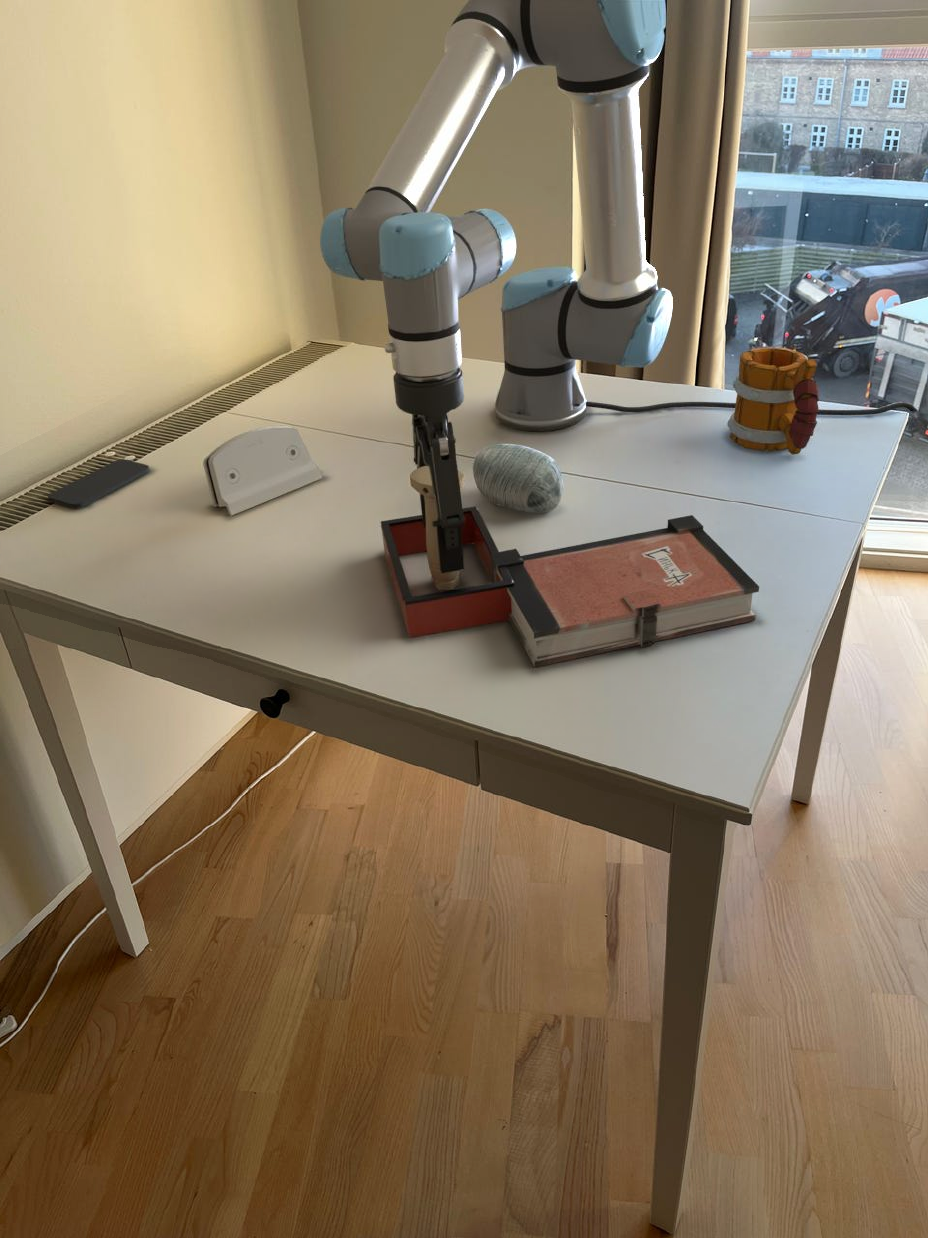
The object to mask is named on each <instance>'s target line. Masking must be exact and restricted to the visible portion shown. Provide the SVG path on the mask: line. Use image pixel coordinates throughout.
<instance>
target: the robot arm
mask: <svg viewBox="0 0 928 1238" xmlns="http://www.w3.org/2000/svg"><path fill="white" fill-rule="evenodd" d="M666 8H667V7H666V0H468V1H467V2H466V3H465V4H464V6H463V7H462V9H461V10H460V11H459V13H458V15H456V17H455V19H454V20H453V22H452V24H451V26H450V27H449V28H448V30H447V33H446V35H445V38H444V45H443V46H444V55H443V56H442V58H441V60H440V62H439V63H438V65H437V67H436V68H435V71H434V72H433V74H432V76H431V77H430V79H429V81H428V82H427V85H426V86H425V88H424V90H423V91H422V93H421V95H420V97H419V98H418V100H417V101H416V103H415V105H414V106H413V108H412V111H411V112H410V114H409V115H408V117H407V119H406V121H405V122H404V124H403V126H402V128H401V130H400V131H399V133H398V135H397V136H396V138H395V140H394V142H393V143H392V144H391V147H390V148H389V150H388V152H387V154H386V156H385V157H384V159H383V161H382V163H381V164H380V165H379V167H378V169H377V171H376V173H375V174H374V176H373V178H372V180H371V181H370V183H369V185H368V187H367V188H366V190H365V191H364V194H363V196H362V197H361V198H360V201H359V203H358V204H357V206H356V207H355V208H353V207H345V208H337V209H335V210H333V211H332V212H330V213H329V214H328V215H327V216H326V217H325V219H324V220H323V223H322V225H321V229H320V236H319V247H320V251H321V256H322V259H323V261H324V263H325V265H326V266H327V267H328V269H329V270H330V271H331V272H332V273H334V274H335V275H337V276H341V277H345V278H350V279H356V280H359V281H364V282H366V281H378V282H382V287H383V293H384V300H385V308H386V309H385V310H386V314H387V315H386V316H387V322H388V324H387V329H388V336H389V340H390V342H389V343H386V344H385V345H384V352H385V353H386V354H390V356H391V364H392V370H393V371H394V372H395V373H394V374H393V388H394V397H395V404H396V406H397V407H398V409H399V410H400V411H401V412H404V413H406V414H409V415H411V417H412V418H411V426H412V438H413V463H414V464H415V466H416V469H417V468H420V467H423V466H428V467H429V469H430V475H431V481H432V487H433V493H434V499H435V504H436V510H437V516H438V519H437V521H433V522H432V526H433V527H437V539H438V550H439V561H440V570H441V573H447V572H453V571H459V572H460V571H464V570H465V561H464V560H465V559H464V547H463V546H464V545H463V544H462V531H461V525H464V524H465V517H464V515H463V508H464V507H463V500H462V499H463V498H462V493H461V492H462V491H461V490H460V484H459V476H458V471H459V470H458V469H459V468H458V461H457V453H456V443H457V441H456V437H455V435H454V427H453V422H452V421H449V418H448V417H449V416H448V413H450V412H451V411H453V410H456V409H457V408H459V407H460V406H461V405H462V404H463V402H464V401H465V400H464V399H465V393H464V377H463V370H462V369H461V368H460V366H461V365H462V364H463V357H462V356H463V355H462V354H463V353H462V341H461V340H462V339H461V337H462V336H461V326H460V323H459V321H460V320H459V300H460V299H462V298H464V297H465V296H467V295H469V294H470V293H473V292H475V291H476V290H479V289H480V288H482V287H484V286H487V285H489V284H492V283H493V282H495V281H496V280H497V279H498V278H499V277H500V276H501V275H503V274H504V273H506V272H507V271H508V270H509V269H510V267H511V266H512V264H513V263H514V260H515V257H516V253H517V239H516V235H515V232H514V229H513V227H512V225H511V223H510V222H509V221H508V220H507V218H506V217H505V216H504V215H502V214H501V213H500V212H498V211H497V210H494V209H490V208H479V209H476V210H474V209H470V210H469V211H466V212H464V214H461V215H452V214H442V213H439V212H433V211H432V209H433V207H434V205H435V203H436V201H437V199H438V197H439V196H440V193H441V192H442V190H443V188H444V186H445V185H446V183H447V181H448V179H449V177H450V176H451V174H452V172H453V170H454V168H455V166H456V165H457V163H458V161H459V159H460V158H461V156H462V154H463V153H464V151H465V148H466V147H467V145H468V143H469V141H470V139H471V137H472V136H473V134H474V133H475V130H476V129H477V127H478V125H479V123H480V121H481V120H482V117H483V116H484V114H485V112H486V111H487V108H488V107H489V105H490V103H491V101H492V99H493V98H494V96H495V94H496V92H498V91H501V90H503V89H505V88H506V87H507V86H508V85H509V84H511V82H512V80H513V78H514V77H515V74H516V73H517V72H519V71H520V70H523V69H525V68H530V67H536V66H538V67H555V71H556V82H557V88H558V90H559V91H560V92H561V93H562V94H563V95H565V96H567V98H569V99H570V102H571V114H572V125H573V136H574V137H573V138H574V147H575V149H574V150H575V158H576V169H577V181H578V191H579V203H580V214H581V215H580V216H581V226H582V237H583V248H584V259H585V270H584V271H583V272H582V274H581V275H580V276H579V277H578V275H577V273H576V270H575V269H574V268H573V267H572V268H571V267H569V266H551V267H541V268H537V269H531V270H528V271H525V272H521V273H518V274H516V275H514V276H512V277H510V278H509V279H507V280H506V281H505V282H504V284H503V286H502V289H501V307H500V312H501V320H502V321H501V323H502V340H503V343H502V344H503V361H504V363H503V364H504V372H503V376H502V379H501V382H500V387H499V388H498V391H497V394H496V398H495V399H496V400H495V403H494V404H495V405H494V407H495V408H494V410H495V418H496V420H497V421H498V422H499V423H500V424H501V425H504V426H505V427H508V428H511V429H515V430H519V431H527V432H547V431H555V430H561V429H565V428H569V427H571V426H573V425H576V424H578V423H579V422H581V421H582V420H583V419H585V417H586V415H587V408H595V409H604V410H611V411H616V412H622V413H644V412H652V411H657V410H663V409H671V408H673V409H674V408H720V409H722V408H725V409H735V405H736V402H722V401H674V402H664V403H657V404H652V405H645V406H623V405H618V404H617V405H616V404H612V403H604V402H595V401H589V400H587V399H586V396H585V393H584V390H583V387H582V383H581V380H580V376H579V375H578V372H577V368H576V361H581V362H591V363H592V362H593V363H600V364H605V365H615V366H620V367H621V368H626V367H629V368H630V367H631V368H646V367H648V366H650V365H651V364H652V363H653V362H654V361H655V360H656V359H657V357H658V355H659V354H660V352H661V350H662V348H663V346H664V343H665V341H666V338H667V334H668V332H669V328H670V324H671V320H672V313H673V304H674V303H673V295H672V293H671V291H670V290H668V289H666V288H665V287H659V288H658V274H657V271H656V269H655V267H653V266H652V265H651V264H649V263H648V262H647V260H646V240H645V237H646V236H645V217H644V196H643V195H644V193H643V171H642V148H641V147H642V145H641V125H640V99H639V89H640V87H641V86H642V84H643V83H644V81H645V80H646V79H647V77H649V75H650V64H652V63H654V62H655V61H656V60H657V58H658V57H659V55H660V53H661V51H662V49H663V46H664V42H665V32H664V30H665V28H666V26H667V9H666ZM431 211H432V212H431ZM577 279H578V280H577ZM900 408H905V409H907V410H909V411H910V412H912V413H915V412H916V413H917V412H918V409H917V407H916V406H914V405H913V404H911V402H906V401H897V402H894V403H891V404H887V405H885V406H882V407H877V408H867V409H821V408H818V409H819V412H818V413H817V414H816V416H868V415H869V416H871V415H879V414H883V413H888V412H890V411H892V410H895V409H900ZM419 498H420V509H421V515H422V520H423V526H424V527H426V515H425V500H424V495H422V494H420V493H419Z"/></svg>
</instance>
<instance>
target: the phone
mask: <svg viewBox="0 0 928 1238" xmlns="http://www.w3.org/2000/svg"><path fill="white" fill-rule="evenodd" d="M150 470H151V469H150V466H149V465H148V464H144V463H141V462H137V461H132V460H129V459H125V458H124V459H123V458H122V459H116V460H114V461H112V462H110V463H108V464H106V465H104V466H102V467H100V468H98V469H95V470H94V471H92V472H90V473H88V474H85V475H84V476H82V477H80V478H78V479H76V480H74V481H72V482H71V483H68V484H66V485H64V486H62V487H60V488H58V489H56V490H55V491H52V492H50V493H49V494H48V495H47V497H48V502H51V503H54V504H58V505H60V506H65V507H68V508H71V509H80V508H84V507H85V506H87V505H89V504H91V503H92V502H94V501H98V499H101V498H102V497H104V496H106V495H108V494H110V493H112V492H113V491H116V490H118V489H120V488H121V487H123V486H126V485H127V484H128V483H129V484H130V483H131V482H132V481H134V480H136V479H138V478H140V477H142V476H144V475H146V474H148V473H149V472H150Z"/></svg>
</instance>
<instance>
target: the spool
mask: <svg viewBox="0 0 928 1238" xmlns="http://www.w3.org/2000/svg"><path fill="white" fill-rule="evenodd" d="M472 474H473V480H474V482H475V486H476V488H477V490H478V492H479V493H480V494H481V496H482V497H484V498H485V500H487V501H489V502H490V503H493V504H495V505H498V506H500V507H503V508H507V509H511V510H516V511H521V512H527V513H546V512H550V511H553V510H554V509H555V508H556V507H557V506H558V505H559V504H560V502H561V501H562V498H563V494H564V481H563V474H562V472H561V469H560V467H559V465H558V463H557V462H556V460H554V459H553V457H551V456H549V455H548V454H546V453H544V452H542V451H540V450H539V449H535V448H532V447H530V446H529V447H528V446H525V445H522V444H515V443H497V444H492V445H489V446H486V447H483V448H481V450H479V451H478V452H477V453H476V455H475V456H474V459H473V463H472Z"/></svg>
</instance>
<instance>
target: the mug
mask: <svg viewBox="0 0 928 1238" xmlns="http://www.w3.org/2000/svg"><path fill="white" fill-rule="evenodd" d="M816 362H817V361H815V359H813V358H808V357H807V356H806V355H805V354H804V353H802V352H800V351H797V350H795V349H791V348H787V347H782V346H781V347H780V346H773V347H770V346H765V347H764V346H763V347H755V348H752V349H749V350H747V351H743V352H742V353H741V354H740V355H739V364H738V365H739V367H738V375H737V376H736V377H735V380H733V383H732V387H733V389H734V390H735V393H736V401H735V403H736V405H735V408H734V411H733V412H732V414H730V415H731V416H730V418H729V419H728V420H727V422H726V423H727V427H728V428H729V431H730V434H729V438H730V439H731V441H732V442H733V443H735V444H736V445H738V446H740V447H743V448H745V449H748V450H753V451H759V452H766V451H767V452H773V451H774V452H775V451H776V452H779V451H783V450H787V451H788V452H789V454H790V455H799V454H800V453H801V451H802V450H803V449H806V447H807V445H808V443H809V442H810V439H811V437H813V436H814V431H815V428H816V427H817V424H818V421H817V415H816V414H817V413H818V412H819V409H820V408H819V401H820V399H819V397H820V396H819V388H818V383H817V381H815V380H814V378H813V377H815V373H816V370H817V366H818V364H817V363H816Z"/></svg>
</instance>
